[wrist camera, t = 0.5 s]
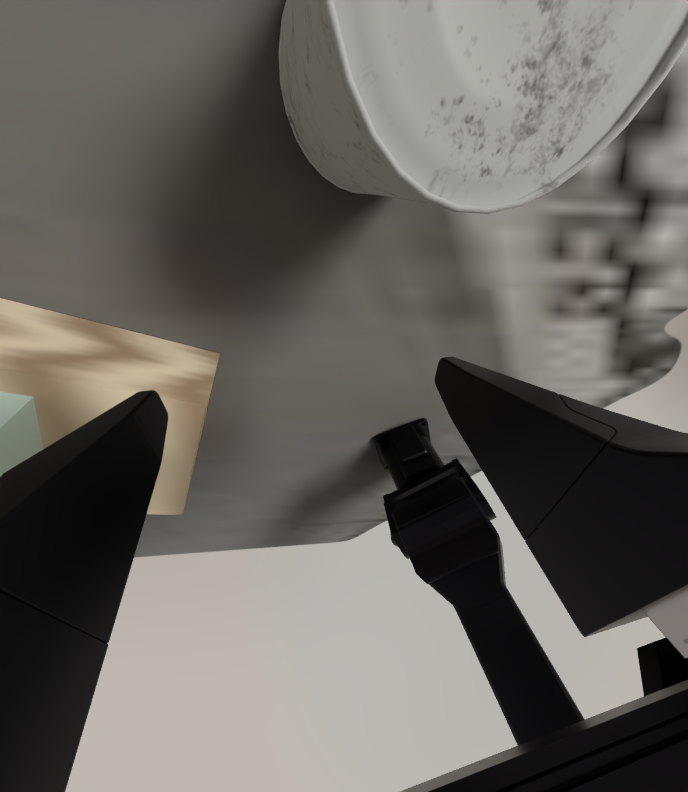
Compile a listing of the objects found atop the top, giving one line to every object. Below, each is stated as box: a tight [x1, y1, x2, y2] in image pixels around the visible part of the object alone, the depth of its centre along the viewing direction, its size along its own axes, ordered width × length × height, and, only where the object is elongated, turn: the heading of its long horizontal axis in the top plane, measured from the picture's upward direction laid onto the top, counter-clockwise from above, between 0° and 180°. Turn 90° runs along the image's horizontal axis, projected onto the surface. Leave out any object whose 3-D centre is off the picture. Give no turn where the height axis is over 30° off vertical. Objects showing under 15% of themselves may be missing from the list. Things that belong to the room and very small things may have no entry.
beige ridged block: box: [0, 298, 220, 515], centre depth 19 cm, size 14×12×6 cm
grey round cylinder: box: [278, 0, 688, 214], centre depth 10 cm, size 10×10×12 cm
